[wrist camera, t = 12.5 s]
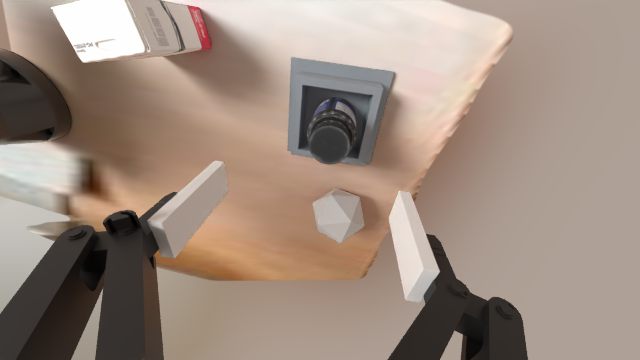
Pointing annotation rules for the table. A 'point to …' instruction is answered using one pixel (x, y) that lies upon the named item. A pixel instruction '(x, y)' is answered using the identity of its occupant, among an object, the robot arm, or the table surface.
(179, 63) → the table surface
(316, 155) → the pill bottle
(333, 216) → the die
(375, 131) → the well
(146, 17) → the ink box
